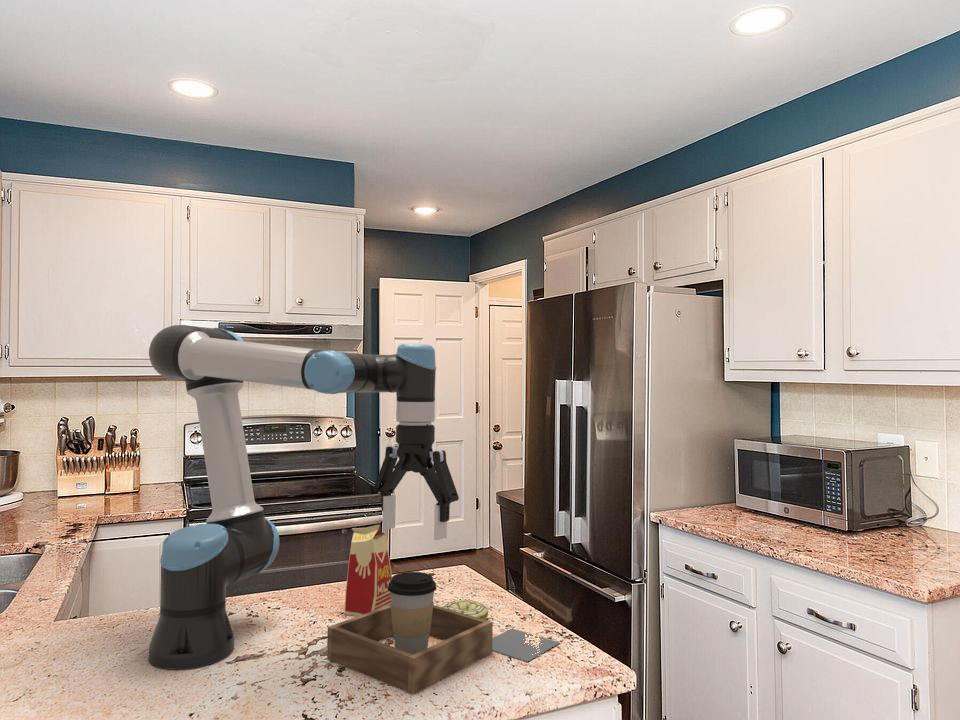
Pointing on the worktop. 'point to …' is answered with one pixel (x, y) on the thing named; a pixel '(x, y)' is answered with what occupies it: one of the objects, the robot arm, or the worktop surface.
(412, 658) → the frame
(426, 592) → the coffee cup
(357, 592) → the milk carton
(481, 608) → the decorated donut
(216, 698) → the worktop surface
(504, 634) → the mat
